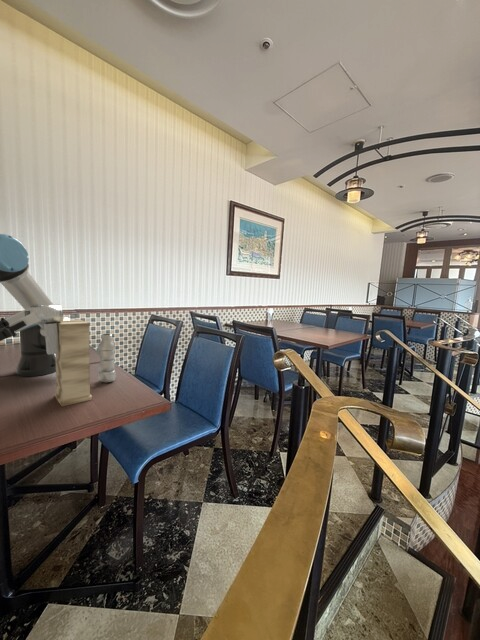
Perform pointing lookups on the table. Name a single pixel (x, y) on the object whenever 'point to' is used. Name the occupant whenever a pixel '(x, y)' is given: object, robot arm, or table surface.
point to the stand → (73, 362)
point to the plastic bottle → (106, 359)
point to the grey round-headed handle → (48, 323)
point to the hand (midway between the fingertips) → (33, 314)
